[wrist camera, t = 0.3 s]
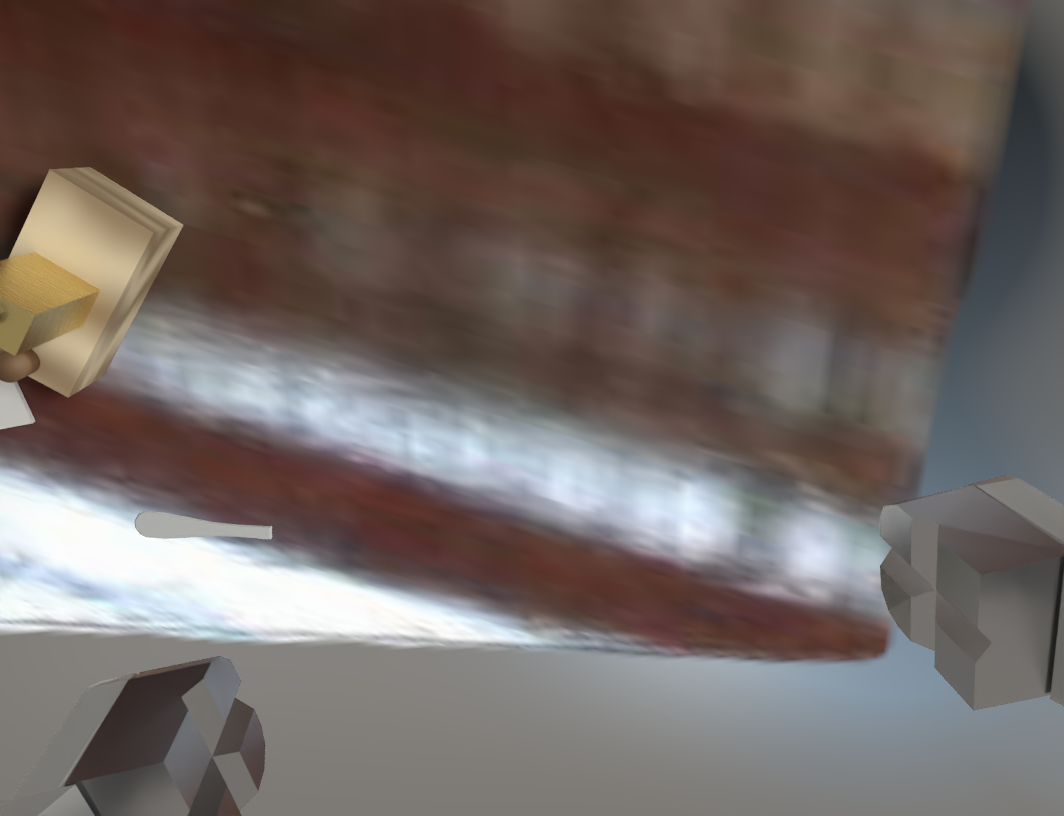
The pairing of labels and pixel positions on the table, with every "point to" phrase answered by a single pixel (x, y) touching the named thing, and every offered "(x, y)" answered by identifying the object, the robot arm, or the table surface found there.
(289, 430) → the table surface
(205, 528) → the butter knife
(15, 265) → the brass knob block
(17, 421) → the mat
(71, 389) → the body
